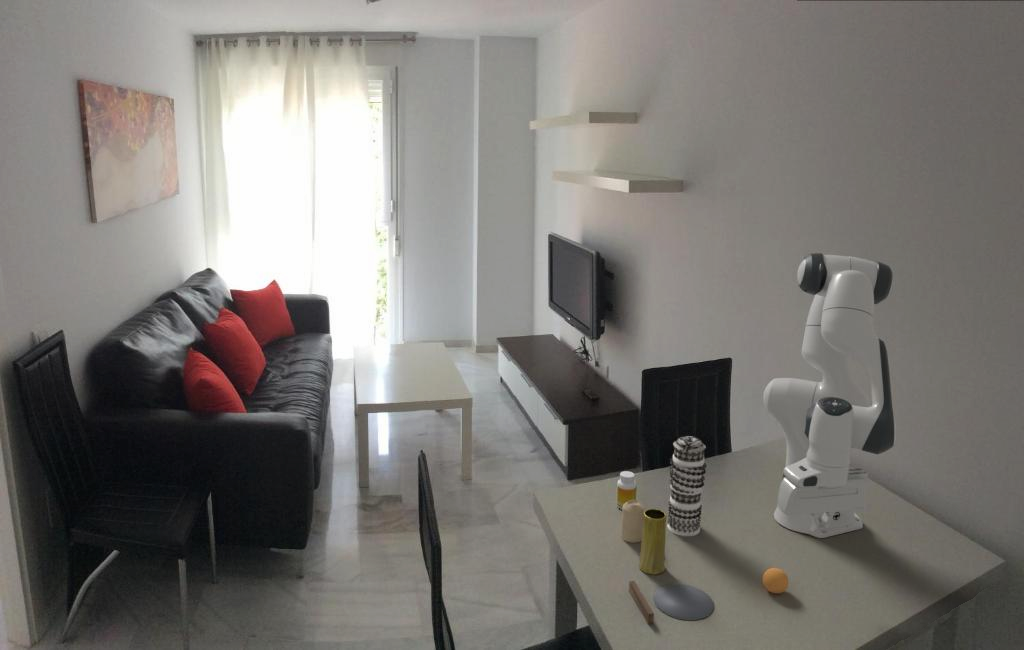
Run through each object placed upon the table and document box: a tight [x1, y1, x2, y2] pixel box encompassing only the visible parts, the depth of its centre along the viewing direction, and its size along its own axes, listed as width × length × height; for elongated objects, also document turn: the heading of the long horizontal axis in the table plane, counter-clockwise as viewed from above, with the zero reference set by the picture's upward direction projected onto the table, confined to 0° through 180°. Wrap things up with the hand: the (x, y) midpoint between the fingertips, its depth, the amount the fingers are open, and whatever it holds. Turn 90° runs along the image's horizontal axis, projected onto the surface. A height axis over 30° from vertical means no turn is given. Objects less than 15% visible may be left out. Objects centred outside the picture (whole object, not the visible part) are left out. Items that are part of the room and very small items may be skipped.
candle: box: [620, 499, 645, 544], centre depth 191 cm, size 6×6×10 cm
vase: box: [638, 508, 667, 575], centre depth 177 cm, size 6×6×14 cm
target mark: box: [653, 583, 715, 621], centre depth 166 cm, size 13×13×1 cm
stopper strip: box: [628, 580, 655, 625], centre depth 164 cm, size 1×12×2 cm, turn 11°
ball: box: [762, 567, 789, 594], centre depth 170 cm, size 6×6×6 cm
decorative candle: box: [666, 435, 707, 537], centre depth 194 cm, size 9×9×25 cm
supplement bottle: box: [615, 470, 638, 510], centre depth 207 cm, size 5×5×10 cm
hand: (819, 527), depth 168 cm, fingers closed
